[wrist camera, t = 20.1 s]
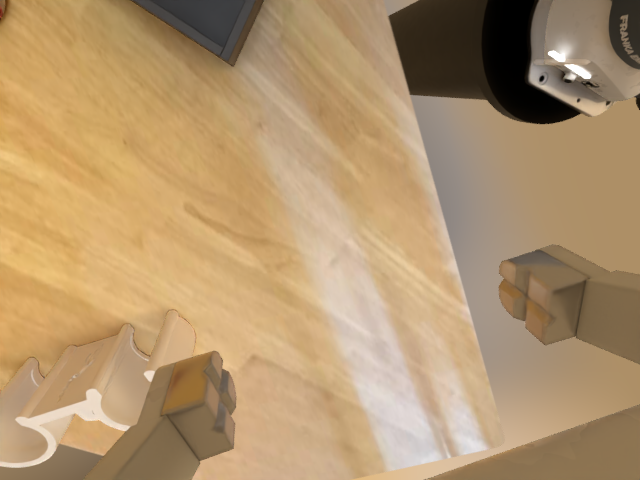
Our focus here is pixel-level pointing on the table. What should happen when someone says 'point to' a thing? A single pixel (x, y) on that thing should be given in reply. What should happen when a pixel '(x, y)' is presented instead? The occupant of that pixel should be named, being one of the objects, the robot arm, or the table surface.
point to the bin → (209, 22)
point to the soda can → (2, 7)
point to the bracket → (84, 390)
